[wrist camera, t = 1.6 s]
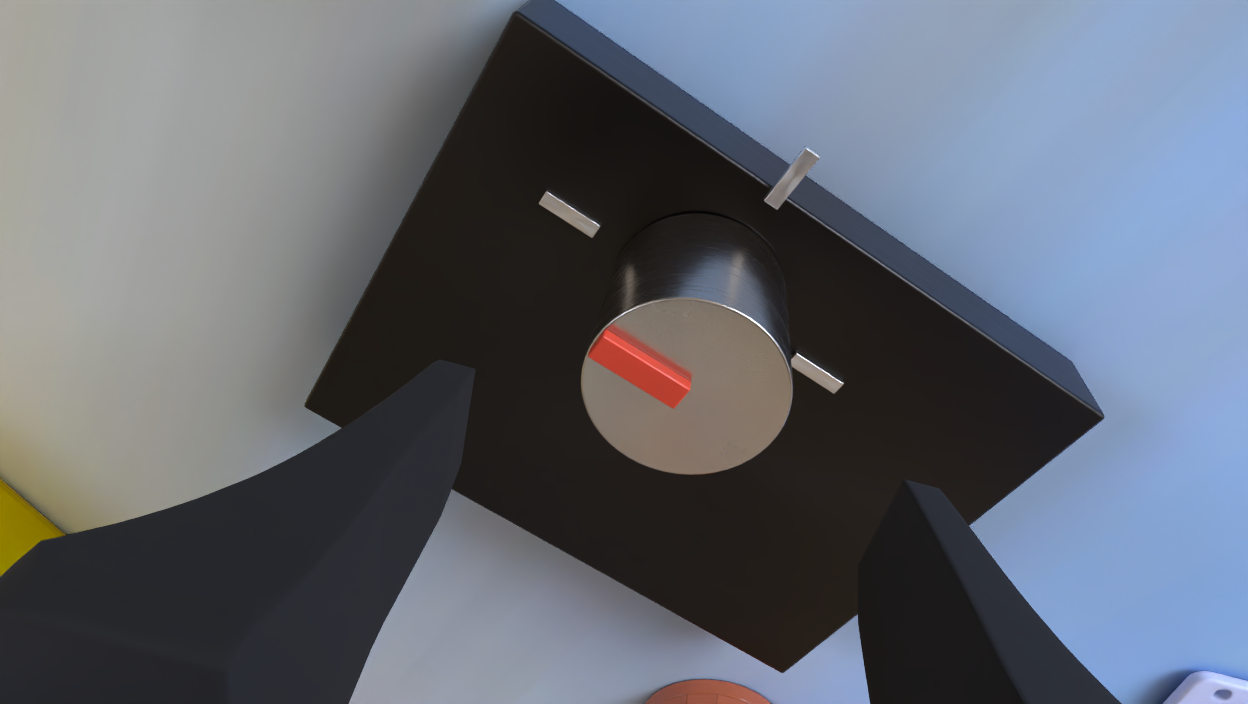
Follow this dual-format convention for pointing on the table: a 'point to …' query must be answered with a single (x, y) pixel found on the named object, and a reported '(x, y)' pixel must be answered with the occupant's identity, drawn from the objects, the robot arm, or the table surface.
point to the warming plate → (569, 306)
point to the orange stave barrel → (706, 693)
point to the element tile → (20, 527)
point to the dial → (691, 347)
